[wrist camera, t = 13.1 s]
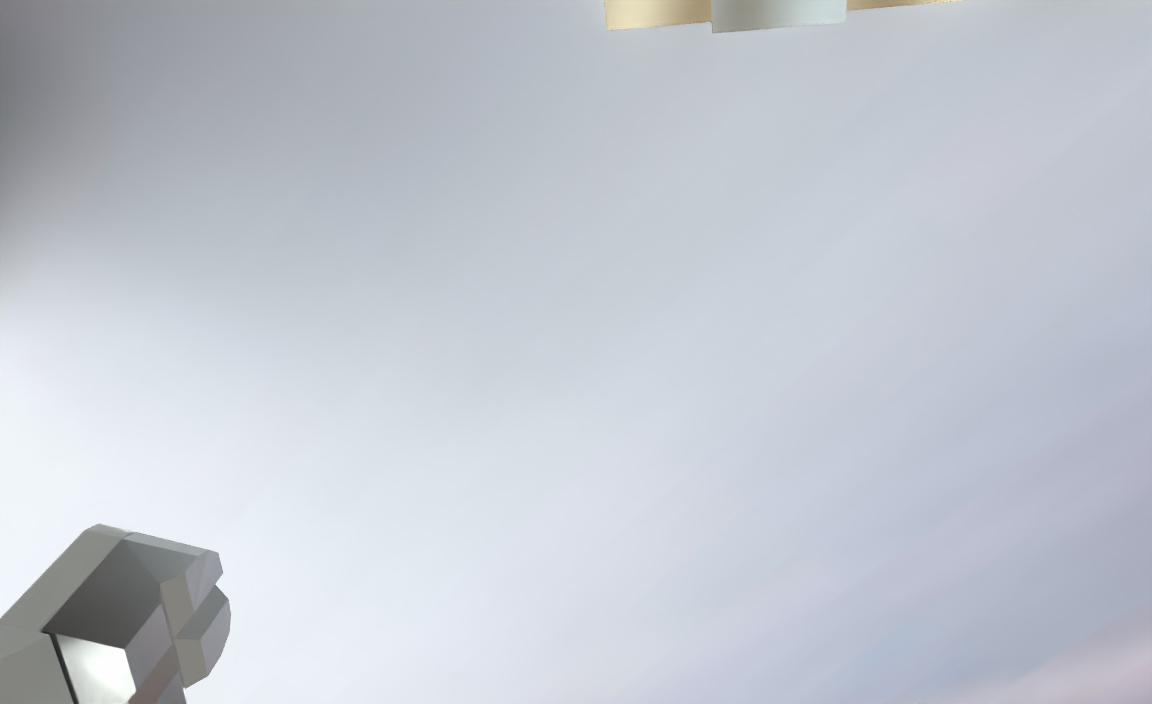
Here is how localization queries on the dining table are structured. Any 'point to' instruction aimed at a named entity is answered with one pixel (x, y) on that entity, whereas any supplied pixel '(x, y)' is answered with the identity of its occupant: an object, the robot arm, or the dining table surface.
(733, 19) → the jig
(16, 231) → the dining table surface
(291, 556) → the dining table surface
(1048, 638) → the dining table surface
